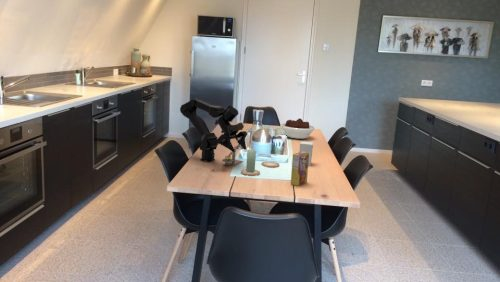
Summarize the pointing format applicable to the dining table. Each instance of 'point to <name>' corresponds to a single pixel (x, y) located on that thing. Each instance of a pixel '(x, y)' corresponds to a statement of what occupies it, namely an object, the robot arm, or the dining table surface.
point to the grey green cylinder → (250, 161)
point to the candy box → (299, 168)
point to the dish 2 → (270, 164)
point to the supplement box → (307, 149)
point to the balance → (232, 161)
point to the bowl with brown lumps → (297, 129)
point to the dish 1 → (250, 173)
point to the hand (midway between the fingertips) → (240, 150)
